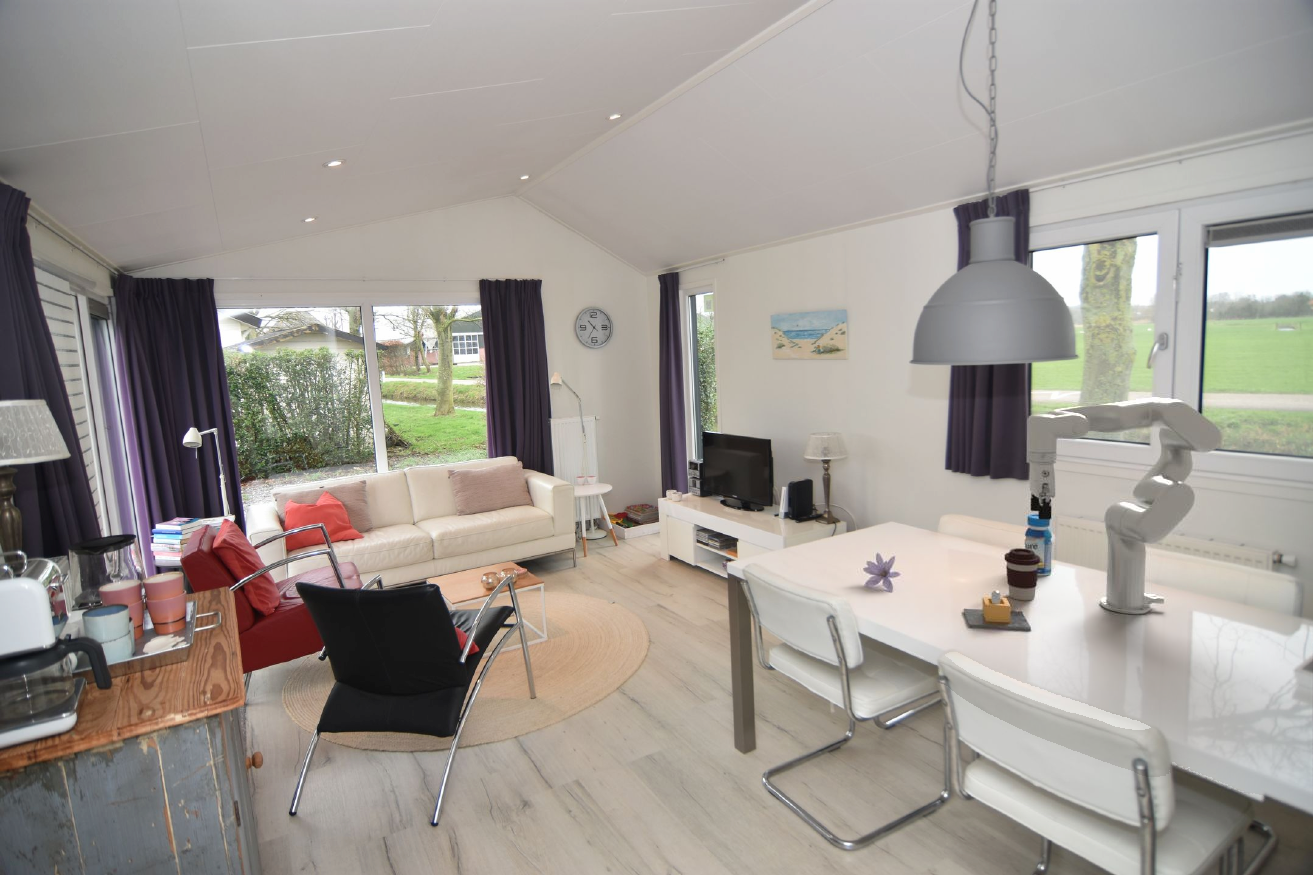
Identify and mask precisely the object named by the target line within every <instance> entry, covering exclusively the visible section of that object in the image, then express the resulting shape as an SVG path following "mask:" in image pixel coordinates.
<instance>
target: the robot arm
mask: <svg viewBox="0 0 1313 875" xmlns="http://www.w3.org/2000/svg"><path fill="white" fill-rule="evenodd" d="M1150 428H1159V432H1158V438H1159V442H1160V449H1161V450H1160V455H1159V458H1158V460H1157V461H1156V462H1155V464H1154V465H1153V466H1152V467H1151V468H1150V469H1149V471H1148V472H1147V473H1146V474H1145V475H1144V476H1143V477H1142V478H1141V479H1140V481H1138V483H1137V484H1136V485H1135V486H1134V489H1133V490H1132V496H1133V498H1134V500H1135V501H1136V502H1137V503H1138V504H1140V505H1138V504H1133V503H1131V502H1130V503H1129V502H1116V503H1113V504H1111V505H1110V506H1109V507H1108V508H1107V509H1106V511H1105V514H1104V527H1105V532H1106V539H1107V554H1106V555H1107V556H1106V561H1107V562H1106V588H1105V589H1106V591H1105V592H1106V593H1105V595H1106V596H1102V597H1101V598H1100V599H1099V603H1100V605H1101V607H1103V608H1105V609H1107V610H1109V611H1111V612H1117V613H1120V614H1127V615H1128V614H1129V615H1142V614H1147V613H1149V612H1150V611H1151V605H1152V604H1158V605H1161V604H1162V605H1163V604H1164V603H1165V599H1164V597H1163V596H1156V595H1155V594H1147V593H1146V592H1145V591H1146V590H1145V586H1146V585H1145V584H1146V564H1147V563H1146V562H1147V560H1146V559H1147V550H1146V549H1147V548H1146V544H1148V545H1150V544H1151V545H1152V544H1157V543H1159V542H1162V541H1163V540H1165V539H1166V538H1167V537H1168V536H1169V535H1170V534H1171V532H1173V530H1175V528H1177V526H1178V525H1179V524H1180V522H1182V521H1183V520H1184V519H1185V517H1186V516H1188V513H1190V512H1191V510H1192V508H1193V506H1194V504H1195V501H1196V500H1195V499H1196V498H1195V492H1194V490H1193V488H1192V487H1191V486H1190V485H1189V484H1187V483H1185V481H1186V480H1187V479H1188V478H1189V476H1190V475H1191V472H1192V471H1193V463H1194V462H1193V458H1192V457H1193V455H1192V452H1194V453H1195V452H1196V453H1201V454H1204V453H1210V452H1213V451H1215V450H1216V449H1217V448H1218V447H1219V446H1220V444H1221V443H1222V433H1221V432H1222V431H1221V430H1220V428H1219V427H1218V426H1217V425H1216V424H1215V423H1213V421H1211V420H1210V419H1208V418H1207V417H1205V415H1203V414H1202V413H1200V412H1199V411H1197V410H1196V409H1195V408H1193V407H1192V406H1190V405H1189V404H1188V403H1187V402H1184V401H1182V400H1180V399H1174V398H1173V399H1172V398H1162V397H1150V398H1149V397H1148V398H1141V399H1136V400H1135V399H1134V400H1129V401H1120V402H1114V403H1104V404H1095V405H1094V404H1093V405H1083V406H1073V407H1066V408H1065V407H1064V408H1058V409H1052V410H1050V411H1048V412H1046V413H1044V414H1043V413H1038V414H1031V415H1029V416H1028V417H1027V420H1026V463H1028V464H1029V465H1030V466H1029V491H1030V511H1031V512H1038V513H1037V514H1038V518H1039V519H1047V520H1050V521H1051V520H1052V506H1053V505H1052V499H1054V498H1055V497H1056V475H1055V474H1056V473H1055V464H1057V444H1058V443H1057V441H1058V440H1079V439H1081V438H1084V437H1085V436H1087V434H1088V433H1089V432H1097V433H1107V434H1108V433H1110V434H1111V433H1112V434H1113V433H1124V432H1131V431H1136V430H1143V429H1150ZM1051 498H1052V499H1051ZM1141 505H1142V506H1141ZM1146 507H1147V508H1146Z"/></svg>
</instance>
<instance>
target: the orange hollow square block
mask: <svg viewBox="0 0 1313 875" xmlns="http://www.w3.org/2000/svg"><path fill="white" fill-rule="evenodd" d="M981 610H982V613H983V615H984V618H985V620H986V621H989V622H1010V611H1011V605H1010V603H1009V599H1007V598H1006V597H1001V604H991V596H982V609H981Z"/></svg>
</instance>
